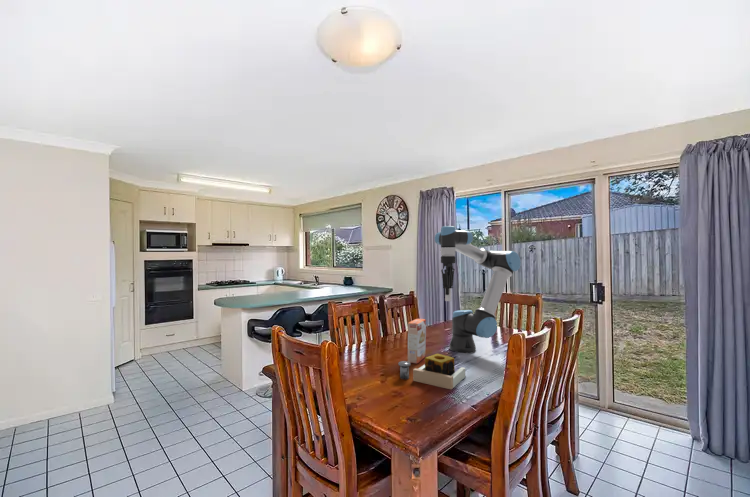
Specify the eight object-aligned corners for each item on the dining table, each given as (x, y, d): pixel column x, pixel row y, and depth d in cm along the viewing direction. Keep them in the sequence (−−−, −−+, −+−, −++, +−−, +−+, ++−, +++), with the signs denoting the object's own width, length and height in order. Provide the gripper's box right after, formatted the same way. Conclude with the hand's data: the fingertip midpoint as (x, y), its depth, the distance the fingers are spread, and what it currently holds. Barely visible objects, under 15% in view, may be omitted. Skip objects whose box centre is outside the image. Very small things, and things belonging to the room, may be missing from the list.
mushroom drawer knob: (402, 374, 164) (402, 360, 164) (412, 377, 160) (412, 362, 160) (396, 378, 159) (396, 363, 159) (407, 380, 156) (407, 365, 156)
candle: (441, 385, 151) (441, 362, 151) (423, 379, 158) (423, 357, 158) (455, 379, 157) (455, 357, 157) (437, 374, 165) (437, 353, 165)
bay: (429, 369, 171) (429, 359, 171) (465, 376, 161) (465, 365, 161) (413, 380, 156) (413, 369, 156) (451, 389, 146) (451, 377, 146)
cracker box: (418, 364, 178) (418, 323, 179) (407, 362, 181) (407, 322, 181) (426, 356, 191) (426, 318, 191) (416, 355, 194) (416, 317, 194)
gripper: (446, 255, 188) (446, 298, 188) (436, 255, 177) (436, 301, 177) (459, 255, 184) (459, 299, 184) (450, 256, 173) (450, 303, 173)
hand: (448, 300), depth 181 cm, fingers closed
